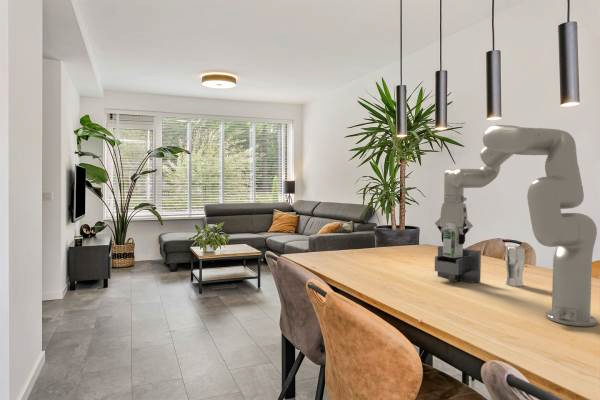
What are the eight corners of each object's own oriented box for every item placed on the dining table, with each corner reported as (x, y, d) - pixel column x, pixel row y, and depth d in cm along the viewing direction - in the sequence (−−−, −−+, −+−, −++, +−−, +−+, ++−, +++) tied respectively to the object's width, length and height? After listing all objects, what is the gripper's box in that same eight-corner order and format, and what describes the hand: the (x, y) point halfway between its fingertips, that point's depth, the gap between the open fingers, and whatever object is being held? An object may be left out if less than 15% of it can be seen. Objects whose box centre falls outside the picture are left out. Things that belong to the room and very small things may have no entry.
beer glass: (526, 287, 161) (527, 249, 160) (507, 286, 162) (508, 248, 162) (521, 283, 168) (521, 246, 167) (502, 282, 169) (503, 245, 169)
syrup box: (442, 256, 173) (442, 221, 172) (452, 255, 175) (453, 221, 175) (452, 258, 168) (453, 222, 167) (463, 257, 170) (464, 222, 169)
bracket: (467, 286, 162) (468, 253, 161) (426, 278, 175) (426, 248, 174) (480, 282, 169) (480, 250, 169) (439, 275, 182) (440, 245, 182)
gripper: (478, 200, 167) (477, 244, 167) (438, 199, 179) (438, 240, 180) (469, 200, 162) (469, 246, 162) (429, 199, 174) (429, 241, 175)
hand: (453, 242), depth 171 cm, fingers closed on syrup box, 6 cm apart
